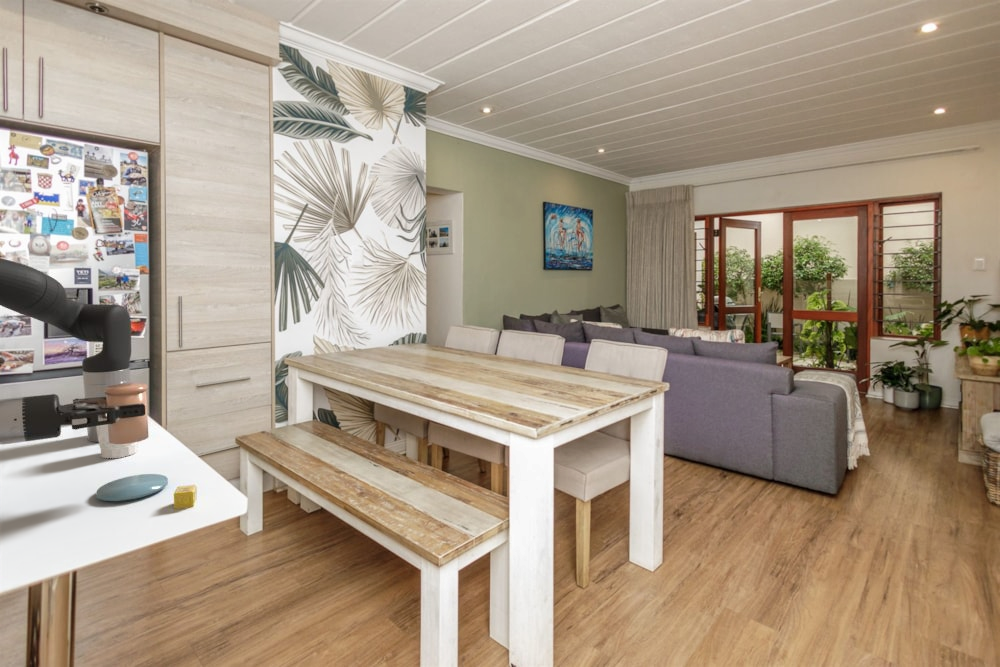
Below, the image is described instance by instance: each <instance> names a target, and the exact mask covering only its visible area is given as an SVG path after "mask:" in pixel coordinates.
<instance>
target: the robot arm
mask: <svg viewBox="0 0 1000 667" xmlns="http://www.w3.org/2000/svg"><path fill="white" fill-rule="evenodd" d="M0 306H1V307H3V308H6V309H7V310H10V311H13V312H15V313H18V314H21V315H23V316H27V317H30V318H32V319H34V320H37V321H39V322H42V323H46V324H49V325H51V326H54V327H55V328H57V329H58V330H60V331H63V332H64V333H66V334H68V335H70V336H72V337H74V338H75V339H77V340H79V341H83V342H89V343H90V342H91V343H102V348H101V350H100V351H99V352H98V353H96V354H95V355H91V356H88V357H86V358H83V360H82V362H81V364H82V367H81V368H82V380H83V389H84V390H83V393H84V398H74V399H72V403H67V404H64V405H62V404H60V399H59V395H58V394H55V393H51V394H42V395H35V396H34V395H31V396H22V397H21V396H20V397H19V396H18V397H11V398H2V399H0V445H10V444H16V443H23V442H31V441H39V440H40V441H42V440H48V439H56V438H58V437H60V436H61V432H62V426H71V430H76V431H77V430H79V429H86V428H87V439H88V441H90V442H94V443H95V442H97V443H99V441H98V435H97V428H96V426H100V425H106V424H113V423H116V421H118V420H120V418H121V419H122V418H130V417H137V416H144V415H145V405H144V404H143V403H141V404H132V405H123V406H120V408H119V406H107V400H106V394H105V391H104V388H106V387H108V386H112V385H118V384H127V383H132V381H131V367H130V361H131V356H132V321H131V316H130V313H129V311H128V309H127V308H126V307H124V306H123V305H120V304H99V303H98V304H96V303H95V304H94V303H93V304H92V303H90V304H89V303H84V302H80V301H79V302H78V301H76V300H73V299H71V298H69V297H68V295H67V292H66V289H65V287H64V286H63V285H62V283H61V282H59V281H58V280H57V279H55V278H54V277H52V276H50V275H48V274H46V273H45V272H42V271H40V270H38V269H36V268H34V267H32V266H30V265H26V264H23V263H20V262H17V261H12V260H9V259H4V258H0ZM106 413H107V417H106Z"/></svg>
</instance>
